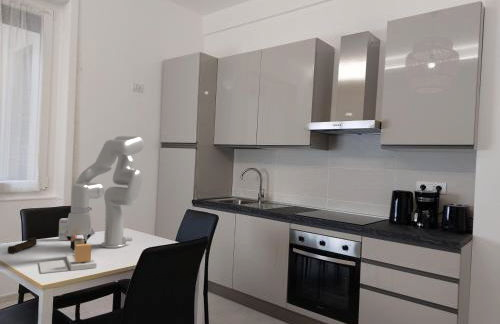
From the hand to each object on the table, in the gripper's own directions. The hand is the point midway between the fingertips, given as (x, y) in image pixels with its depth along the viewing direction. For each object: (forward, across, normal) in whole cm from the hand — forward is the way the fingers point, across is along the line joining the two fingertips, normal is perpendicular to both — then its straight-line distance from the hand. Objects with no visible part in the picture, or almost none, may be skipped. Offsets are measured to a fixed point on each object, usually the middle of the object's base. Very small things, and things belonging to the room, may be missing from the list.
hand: (78, 248), depth 178 cm
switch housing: (+4, 0, +11) cm, 12 cm away
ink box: (+5, 0, -40) cm, 40 cm away
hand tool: (+4, +22, -26) cm, 34 cm away
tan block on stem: (+2, 0, +4) cm, 4 cm away
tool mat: (+4, +12, +12) cm, 17 cm away
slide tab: (+1, +1, +16) cm, 16 cm away
